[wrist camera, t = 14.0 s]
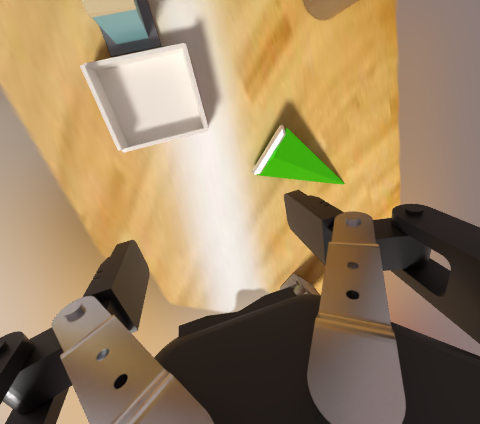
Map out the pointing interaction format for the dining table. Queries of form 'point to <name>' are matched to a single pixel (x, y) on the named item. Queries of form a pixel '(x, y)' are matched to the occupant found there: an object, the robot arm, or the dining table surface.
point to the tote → (147, 96)
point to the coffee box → (299, 285)
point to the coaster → (138, 44)
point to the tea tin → (117, 19)
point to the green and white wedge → (292, 160)
